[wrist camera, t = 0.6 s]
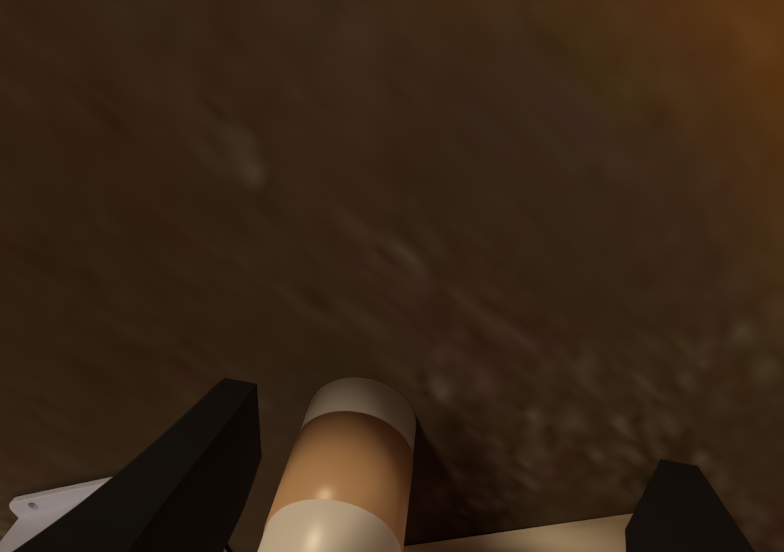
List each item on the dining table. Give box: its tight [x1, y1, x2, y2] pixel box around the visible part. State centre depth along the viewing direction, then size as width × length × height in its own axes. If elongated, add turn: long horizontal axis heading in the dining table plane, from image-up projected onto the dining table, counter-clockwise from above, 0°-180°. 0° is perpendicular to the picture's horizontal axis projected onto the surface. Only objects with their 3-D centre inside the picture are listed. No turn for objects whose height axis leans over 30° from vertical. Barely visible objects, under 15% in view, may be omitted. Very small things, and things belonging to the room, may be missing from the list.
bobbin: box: [258, 377, 416, 552], centre depth 22 cm, size 5×5×8 cm
